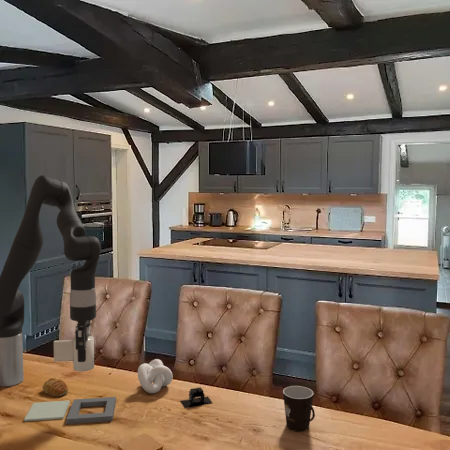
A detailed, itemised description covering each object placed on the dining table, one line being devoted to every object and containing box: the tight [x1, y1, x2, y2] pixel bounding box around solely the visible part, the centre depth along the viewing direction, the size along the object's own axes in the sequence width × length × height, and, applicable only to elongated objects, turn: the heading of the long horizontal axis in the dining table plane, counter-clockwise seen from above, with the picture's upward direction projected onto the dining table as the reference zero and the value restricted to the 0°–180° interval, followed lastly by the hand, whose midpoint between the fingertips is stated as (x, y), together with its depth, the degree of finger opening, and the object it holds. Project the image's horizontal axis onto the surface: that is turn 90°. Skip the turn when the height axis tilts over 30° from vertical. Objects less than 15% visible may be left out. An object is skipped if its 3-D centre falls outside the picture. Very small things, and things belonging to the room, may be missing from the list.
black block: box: [179, 387, 214, 409], centre depth 150 cm, size 12×7×5 cm, turn 110°
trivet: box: [23, 400, 71, 422], centre depth 143 cm, size 11×11×1 cm
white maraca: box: [53, 335, 95, 373], centre depth 141 cm, size 12×6×9 cm, turn 99°
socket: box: [65, 396, 117, 425], centre depth 143 cm, size 13×13×2 cm
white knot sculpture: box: [137, 358, 173, 394], centre depth 159 cm, size 11×12×9 cm
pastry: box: [42, 377, 69, 397], centre depth 157 cm, size 9×7×4 cm
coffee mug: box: [282, 385, 316, 433], centre depth 132 cm, size 12×9×10 cm
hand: (83, 357), depth 142 cm, fingers closed on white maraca, 6 cm apart
